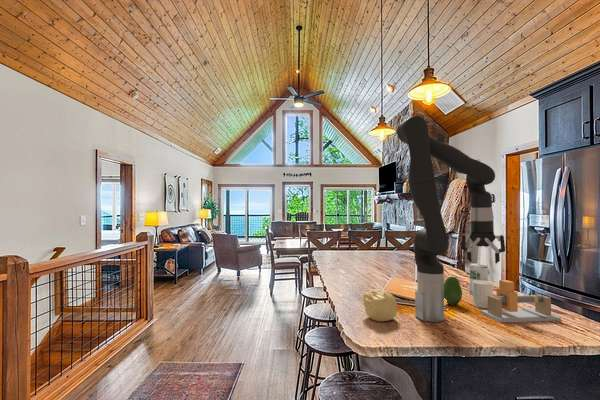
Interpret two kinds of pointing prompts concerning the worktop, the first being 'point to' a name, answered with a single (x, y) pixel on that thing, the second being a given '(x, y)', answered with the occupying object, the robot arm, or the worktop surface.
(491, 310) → the pipe stand
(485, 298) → the white cup
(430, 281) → the robot arm
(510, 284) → the collar
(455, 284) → the avocado
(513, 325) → the worktop surface
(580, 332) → the worktop surface
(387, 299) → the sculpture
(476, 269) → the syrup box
